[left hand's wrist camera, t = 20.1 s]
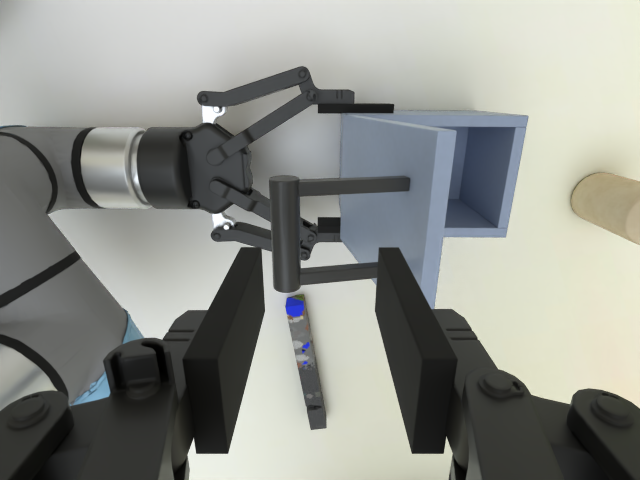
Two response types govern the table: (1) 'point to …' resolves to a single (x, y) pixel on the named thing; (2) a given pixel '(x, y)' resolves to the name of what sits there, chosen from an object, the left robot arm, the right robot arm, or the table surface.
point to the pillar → (306, 361)
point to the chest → (473, 166)
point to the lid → (372, 204)
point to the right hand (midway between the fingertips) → (387, 169)
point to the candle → (610, 204)
